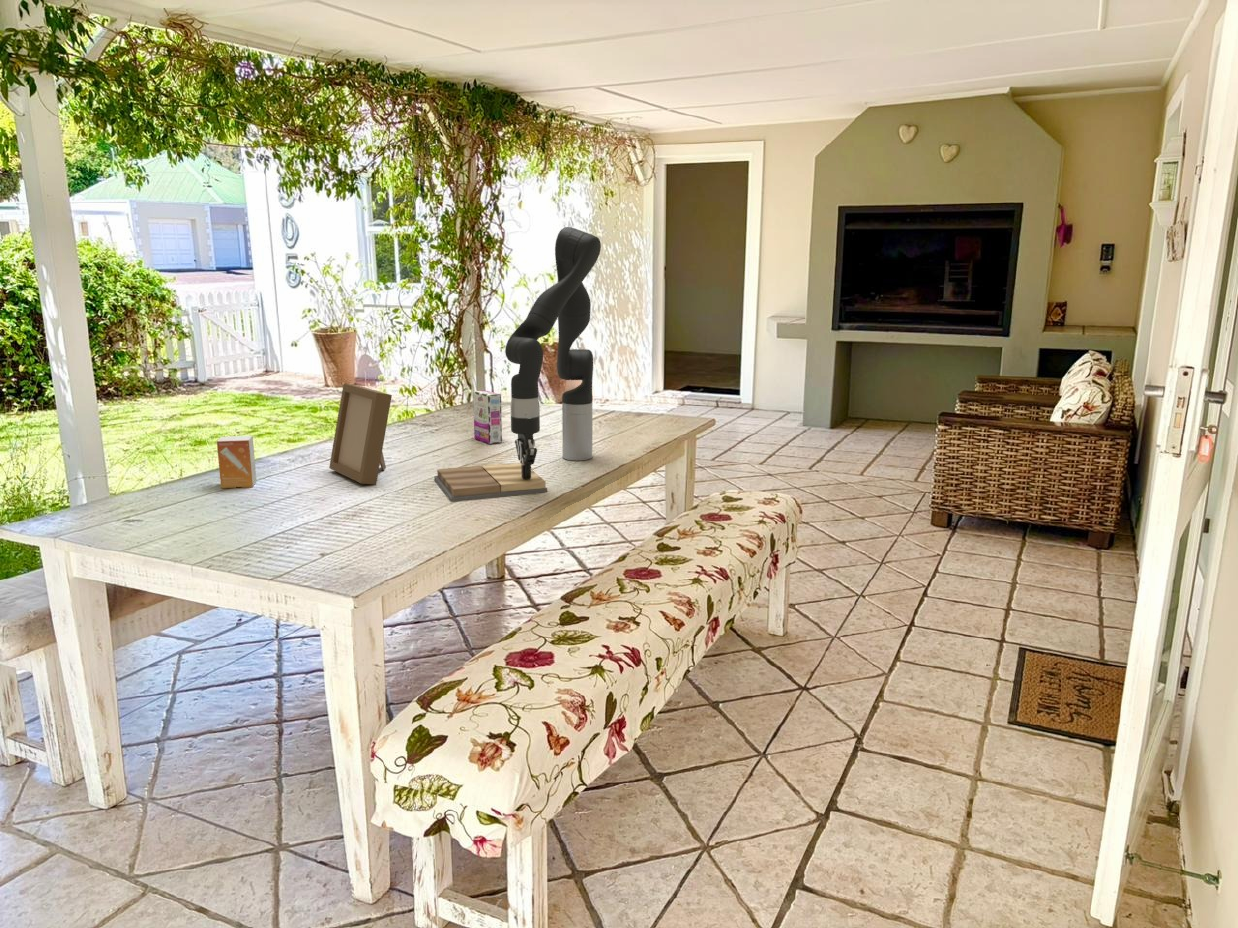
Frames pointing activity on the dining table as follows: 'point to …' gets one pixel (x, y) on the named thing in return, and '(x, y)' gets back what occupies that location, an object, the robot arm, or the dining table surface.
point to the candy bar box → (487, 417)
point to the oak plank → (513, 477)
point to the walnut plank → (468, 481)
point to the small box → (236, 461)
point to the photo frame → (360, 433)
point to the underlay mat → (480, 496)
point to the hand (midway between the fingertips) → (526, 478)
